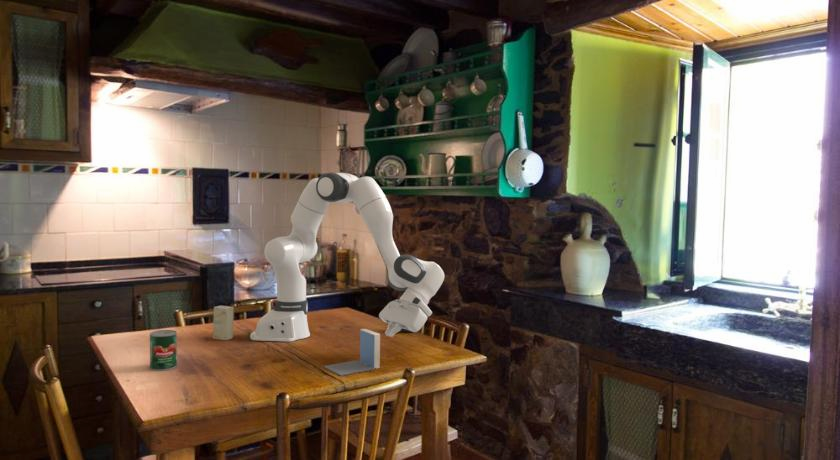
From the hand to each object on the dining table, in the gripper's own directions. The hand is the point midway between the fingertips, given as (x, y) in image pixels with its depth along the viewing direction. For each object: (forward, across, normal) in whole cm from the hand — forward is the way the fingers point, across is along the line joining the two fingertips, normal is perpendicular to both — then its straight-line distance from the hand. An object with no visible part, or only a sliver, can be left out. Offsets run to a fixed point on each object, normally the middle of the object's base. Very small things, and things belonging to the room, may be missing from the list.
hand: (388, 335), depth 200 cm
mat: (+17, 0, -4) cm, 17 cm away
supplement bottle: (-15, -31, +28) cm, 45 cm away
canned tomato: (+51, -34, -38) cm, 72 cm away
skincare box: (+31, -59, -19) cm, 69 cm away
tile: (+11, 0, +1) cm, 11 cm away
